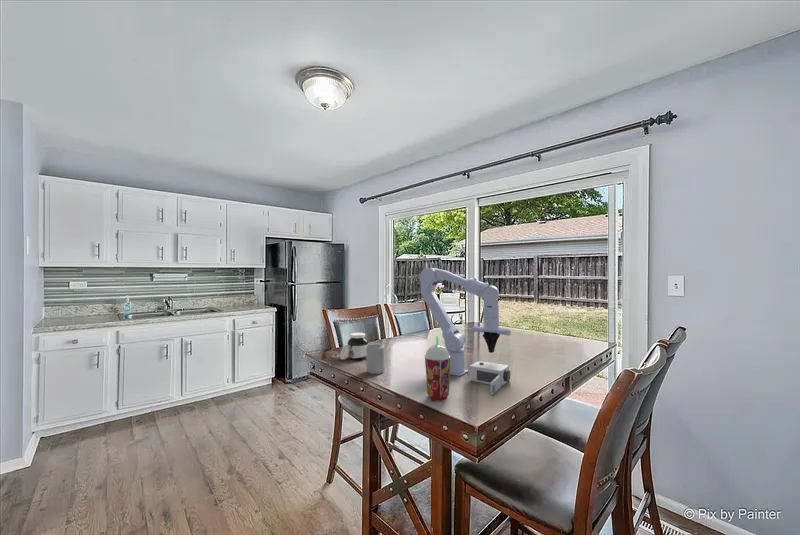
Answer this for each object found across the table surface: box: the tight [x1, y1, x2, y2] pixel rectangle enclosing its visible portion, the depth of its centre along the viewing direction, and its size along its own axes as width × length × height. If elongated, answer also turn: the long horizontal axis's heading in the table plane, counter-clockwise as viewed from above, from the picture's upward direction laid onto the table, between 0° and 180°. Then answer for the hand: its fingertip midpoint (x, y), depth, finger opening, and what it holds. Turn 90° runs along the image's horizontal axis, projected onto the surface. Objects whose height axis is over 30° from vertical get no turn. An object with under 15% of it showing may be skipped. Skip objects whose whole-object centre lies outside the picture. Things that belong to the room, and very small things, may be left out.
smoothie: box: [424, 335, 451, 402], centre depth 110 cm, size 8×8×20 cm
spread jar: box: [340, 332, 369, 361], centre depth 160 cm, size 12×11×12 cm
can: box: [365, 341, 386, 375], centre depth 139 cm, size 8×8×12 cm
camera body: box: [469, 360, 511, 388], centre depth 127 cm, size 13×8×6 cm, turn 54°
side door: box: [489, 374, 503, 396], centre depth 115 cm, size 11×2×4 cm, turn 148°
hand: (491, 352), depth 132 cm, fingers closed
